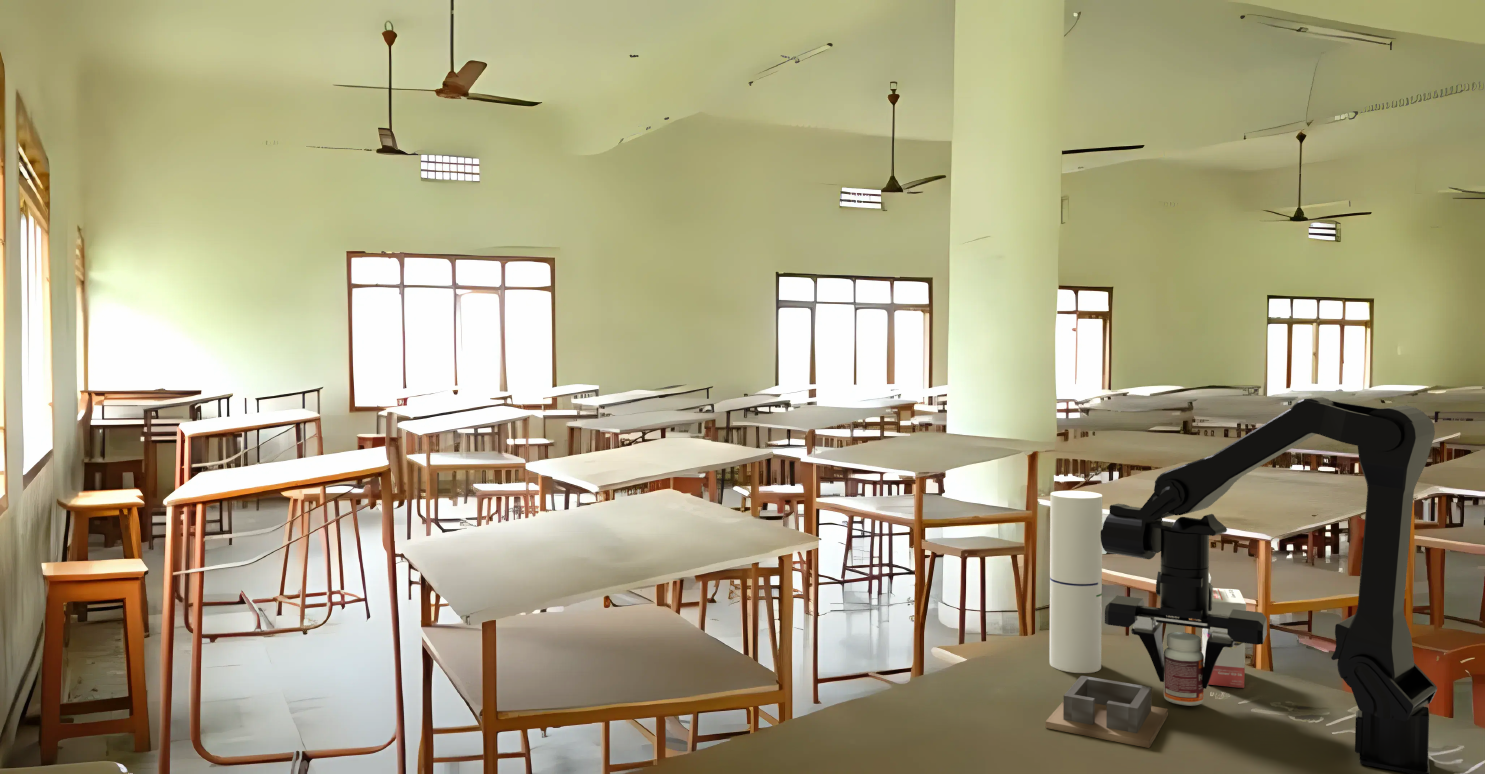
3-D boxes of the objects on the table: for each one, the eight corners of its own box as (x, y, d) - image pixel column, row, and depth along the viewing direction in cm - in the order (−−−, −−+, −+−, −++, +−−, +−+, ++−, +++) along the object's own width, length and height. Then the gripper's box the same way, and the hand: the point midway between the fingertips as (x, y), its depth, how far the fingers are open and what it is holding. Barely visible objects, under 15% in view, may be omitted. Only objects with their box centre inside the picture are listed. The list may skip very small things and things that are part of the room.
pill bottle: (1207, 707, 129) (1208, 642, 129) (1167, 705, 130) (1168, 640, 130) (1198, 694, 134) (1199, 631, 134) (1160, 692, 135) (1160, 629, 134)
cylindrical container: (1039, 661, 150) (1039, 492, 149) (1076, 654, 153) (1077, 489, 152) (1073, 675, 144) (1074, 499, 142) (1112, 668, 147) (1113, 495, 145)
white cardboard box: (1246, 689, 138) (1248, 581, 137) (1206, 685, 139) (1207, 578, 138) (1238, 669, 146) (1240, 567, 145) (1200, 666, 147) (1202, 565, 147)
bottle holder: (1167, 714, 128) (1168, 685, 128) (1149, 747, 118) (1149, 715, 118) (1071, 697, 135) (1071, 669, 135) (1045, 727, 125) (1045, 696, 125)
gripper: (1271, 560, 133) (1270, 678, 134) (1122, 546, 143) (1121, 656, 144) (1263, 578, 124) (1261, 704, 124) (1104, 561, 134) (1103, 679, 134)
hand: (1183, 684), depth 132 cm, fingers closed on pill bottle, 5 cm apart
